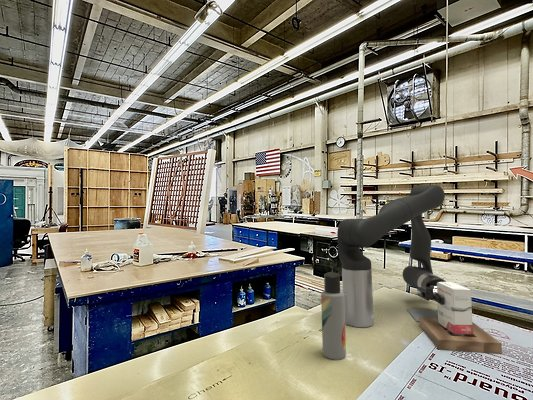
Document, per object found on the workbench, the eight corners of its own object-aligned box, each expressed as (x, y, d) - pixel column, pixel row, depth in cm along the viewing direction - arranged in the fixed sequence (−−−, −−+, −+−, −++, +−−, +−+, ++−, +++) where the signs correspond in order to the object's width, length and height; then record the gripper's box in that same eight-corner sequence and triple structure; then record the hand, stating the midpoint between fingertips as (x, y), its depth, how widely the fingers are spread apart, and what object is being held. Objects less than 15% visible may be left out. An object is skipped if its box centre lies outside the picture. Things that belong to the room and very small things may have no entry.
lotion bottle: (347, 350, 73) (344, 271, 74) (345, 361, 68) (342, 276, 69) (324, 347, 75) (322, 270, 76) (321, 358, 70) (318, 274, 71)
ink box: (475, 335, 75) (471, 288, 76) (455, 335, 75) (451, 289, 76) (455, 322, 84) (452, 281, 84) (437, 322, 84) (434, 281, 84)
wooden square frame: (438, 349, 73) (438, 339, 73) (419, 325, 89) (418, 317, 89) (502, 353, 70) (501, 343, 70) (470, 328, 86) (469, 319, 86)
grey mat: (416, 322, 92) (416, 320, 92) (406, 309, 103) (406, 308, 103) (465, 324, 89) (465, 323, 89) (449, 311, 100) (449, 310, 100)
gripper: (409, 274, 97) (425, 286, 80) (456, 275, 94) (484, 289, 77) (409, 297, 97) (426, 314, 80) (457, 299, 94) (485, 317, 77)
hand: (454, 301), depth 79 cm, fingers closed on ink box, 5 cm apart
